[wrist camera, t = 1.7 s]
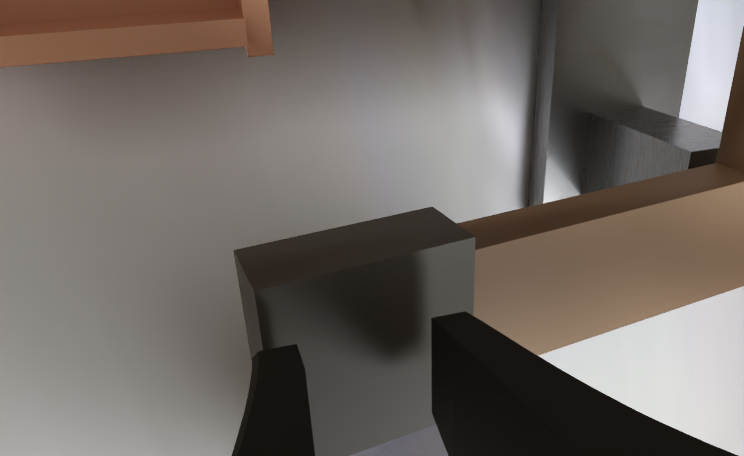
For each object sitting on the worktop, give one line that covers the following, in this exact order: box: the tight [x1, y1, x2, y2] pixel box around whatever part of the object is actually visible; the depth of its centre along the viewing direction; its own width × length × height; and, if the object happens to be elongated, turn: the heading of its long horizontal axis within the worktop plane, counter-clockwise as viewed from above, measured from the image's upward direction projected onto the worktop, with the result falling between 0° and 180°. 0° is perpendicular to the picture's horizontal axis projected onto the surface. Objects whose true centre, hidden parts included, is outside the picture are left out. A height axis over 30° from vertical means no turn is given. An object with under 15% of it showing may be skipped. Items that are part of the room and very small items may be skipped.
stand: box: [528, 0, 722, 207], centre depth 17 cm, size 15×5×6 cm, turn 3°
